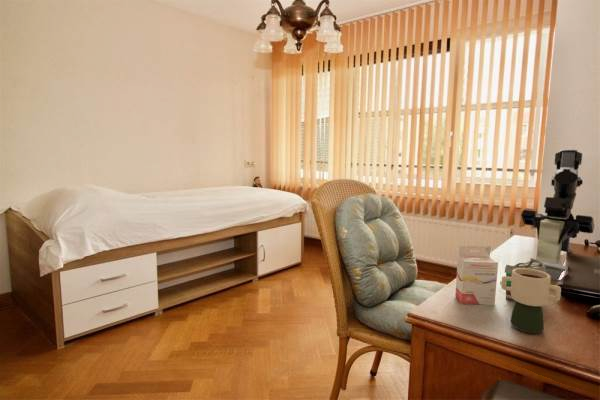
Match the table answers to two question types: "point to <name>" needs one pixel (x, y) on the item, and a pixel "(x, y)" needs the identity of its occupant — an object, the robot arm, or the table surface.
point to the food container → (530, 265)
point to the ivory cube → (562, 258)
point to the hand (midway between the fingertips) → (548, 241)
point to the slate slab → (554, 270)
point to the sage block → (549, 241)
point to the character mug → (529, 297)
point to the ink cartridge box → (476, 276)
